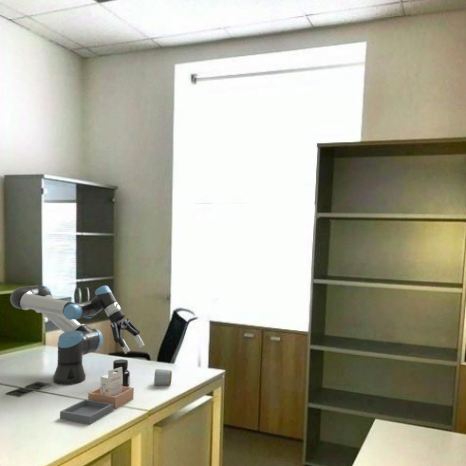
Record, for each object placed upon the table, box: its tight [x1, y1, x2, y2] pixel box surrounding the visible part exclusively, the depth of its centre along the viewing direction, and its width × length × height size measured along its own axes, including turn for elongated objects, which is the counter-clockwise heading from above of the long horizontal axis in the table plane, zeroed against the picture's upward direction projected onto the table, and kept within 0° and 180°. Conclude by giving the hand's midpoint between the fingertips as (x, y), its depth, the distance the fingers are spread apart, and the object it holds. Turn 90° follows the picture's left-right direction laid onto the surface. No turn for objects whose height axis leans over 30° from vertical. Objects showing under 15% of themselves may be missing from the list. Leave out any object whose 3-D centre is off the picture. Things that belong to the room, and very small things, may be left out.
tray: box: [59, 399, 114, 425], centre depth 179 cm, size 14×15×3 cm
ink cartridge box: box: [100, 367, 123, 396], centre depth 194 cm, size 9×5×15 cm, turn 148°
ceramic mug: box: [153, 368, 173, 386], centre depth 221 cm, size 11×8×8 cm
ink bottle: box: [112, 358, 131, 387], centre depth 216 cm, size 10×9×12 cm
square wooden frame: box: [87, 386, 135, 410], centre depth 194 cm, size 14×14×5 cm
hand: (135, 349), depth 226 cm, fingers open, 13 cm apart
